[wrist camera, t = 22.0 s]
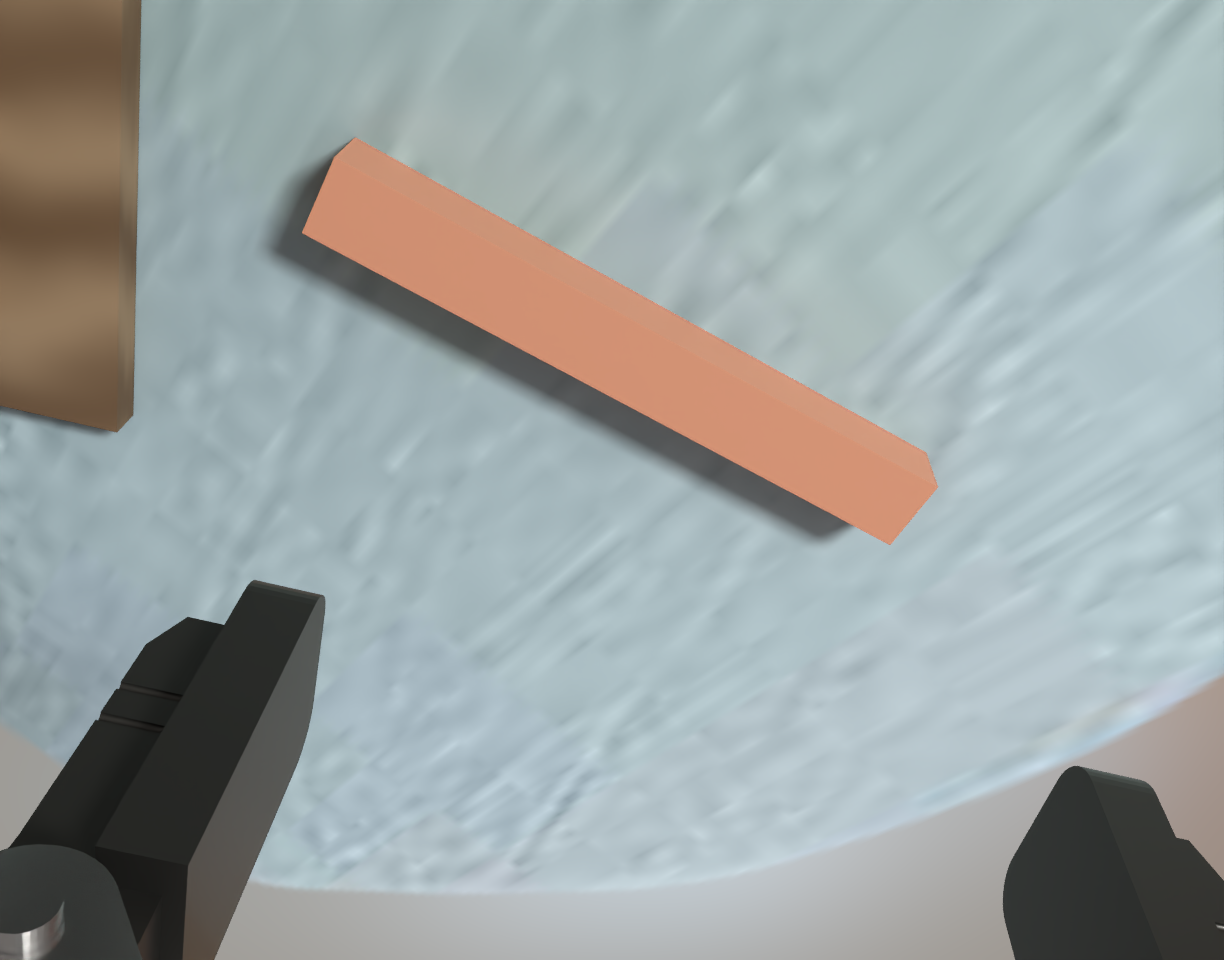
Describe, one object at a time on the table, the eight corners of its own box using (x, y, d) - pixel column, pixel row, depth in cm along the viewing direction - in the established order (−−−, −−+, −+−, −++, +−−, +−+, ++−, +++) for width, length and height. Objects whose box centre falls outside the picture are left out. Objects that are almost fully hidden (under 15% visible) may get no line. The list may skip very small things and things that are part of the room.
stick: (357, 135, 44) (334, 156, 41) (924, 448, 49) (938, 487, 46) (326, 207, 46) (301, 232, 43) (879, 504, 50) (890, 545, 48)
